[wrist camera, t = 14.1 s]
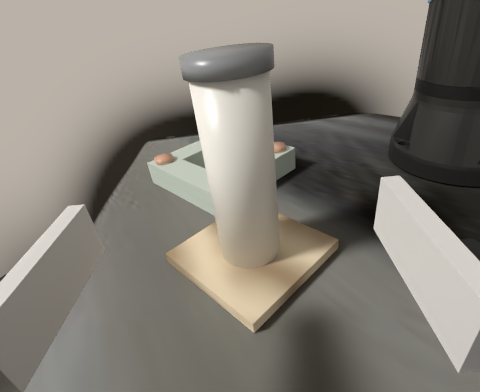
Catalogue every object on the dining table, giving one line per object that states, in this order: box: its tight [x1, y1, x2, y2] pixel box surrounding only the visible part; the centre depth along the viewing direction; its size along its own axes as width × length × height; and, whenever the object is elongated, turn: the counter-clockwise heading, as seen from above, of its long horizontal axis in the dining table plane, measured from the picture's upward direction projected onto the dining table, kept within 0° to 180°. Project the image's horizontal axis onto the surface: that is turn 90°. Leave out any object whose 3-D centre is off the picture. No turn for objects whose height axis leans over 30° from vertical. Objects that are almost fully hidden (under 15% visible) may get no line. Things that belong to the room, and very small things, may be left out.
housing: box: [147, 140, 295, 216], centre depth 41 cm, size 14×14×4 cm
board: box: [166, 213, 339, 333], centre depth 27 cm, size 11×11×1 cm
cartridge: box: [179, 43, 280, 269], centre depth 23 cm, size 6×6×16 cm
